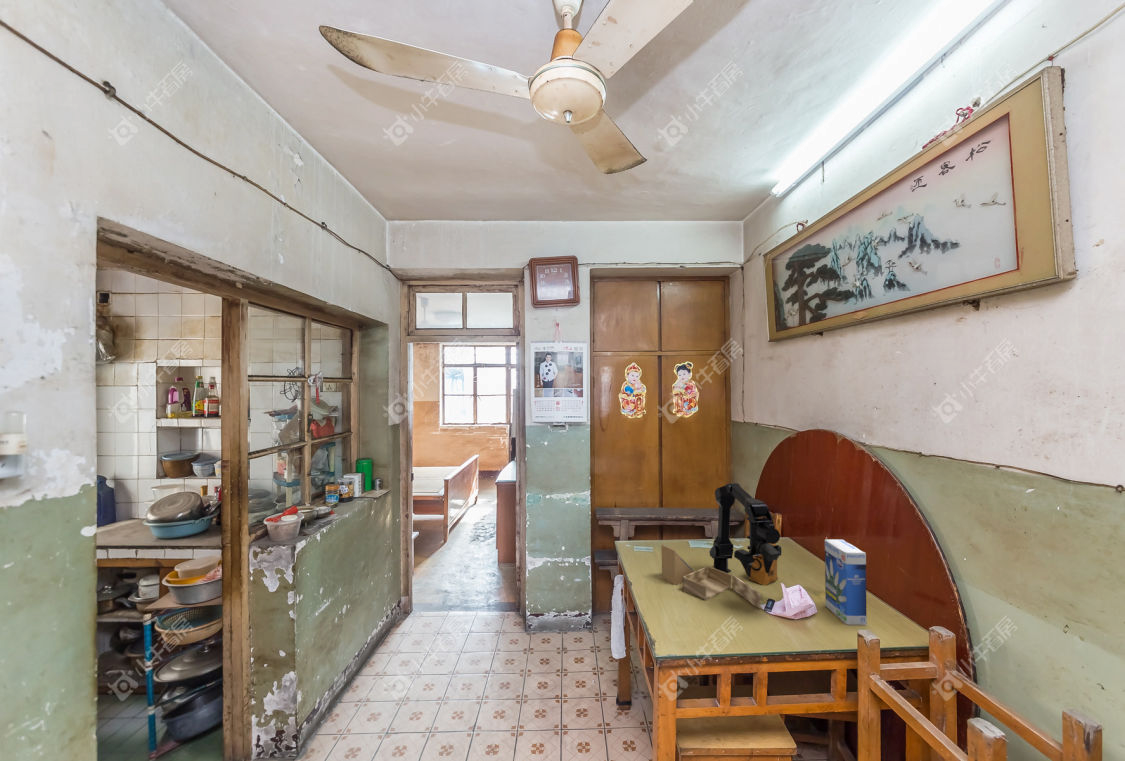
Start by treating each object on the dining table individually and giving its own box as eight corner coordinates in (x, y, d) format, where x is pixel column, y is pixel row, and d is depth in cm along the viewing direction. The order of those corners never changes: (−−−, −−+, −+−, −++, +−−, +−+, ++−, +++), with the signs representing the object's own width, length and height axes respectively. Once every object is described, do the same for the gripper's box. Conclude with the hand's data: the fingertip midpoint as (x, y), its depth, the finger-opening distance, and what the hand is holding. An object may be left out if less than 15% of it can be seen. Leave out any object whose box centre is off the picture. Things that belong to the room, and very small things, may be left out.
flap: (732, 588, 177) (731, 575, 178) (734, 588, 178) (733, 575, 178) (759, 609, 161) (759, 594, 161) (761, 608, 161) (761, 594, 161)
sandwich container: (701, 577, 189) (700, 544, 189) (675, 585, 181) (674, 550, 182) (686, 570, 196) (686, 538, 197) (661, 577, 189) (661, 544, 189)
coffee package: (744, 578, 187) (743, 528, 187) (759, 571, 194) (758, 523, 194) (765, 587, 179) (764, 535, 179) (781, 579, 186) (780, 529, 186)
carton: (708, 578, 188) (708, 565, 188) (731, 587, 179) (731, 574, 179) (682, 589, 177) (682, 576, 177) (705, 600, 168) (705, 587, 168)
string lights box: (824, 606, 163) (823, 538, 164) (844, 606, 163) (843, 538, 163) (846, 625, 150) (845, 552, 150) (868, 625, 150) (867, 552, 150)
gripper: (755, 545, 154) (755, 588, 154) (792, 538, 161) (793, 579, 161) (732, 535, 165) (733, 575, 164) (769, 529, 171) (770, 568, 171)
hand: (758, 574), depth 165 cm, fingers open, 9 cm apart
